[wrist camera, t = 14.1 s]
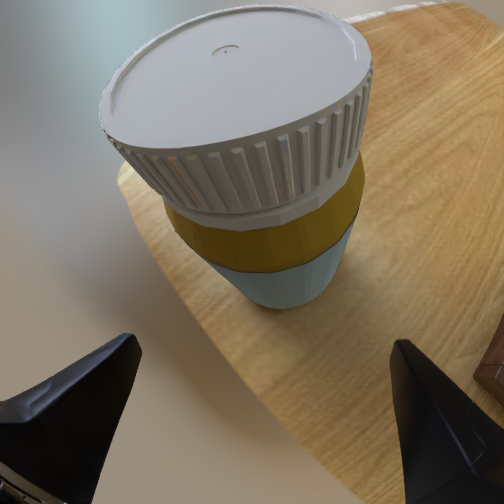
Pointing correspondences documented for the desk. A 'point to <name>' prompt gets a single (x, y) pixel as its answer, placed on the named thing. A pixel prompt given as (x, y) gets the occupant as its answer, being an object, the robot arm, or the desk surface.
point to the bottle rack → (493, 365)
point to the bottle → (251, 141)
